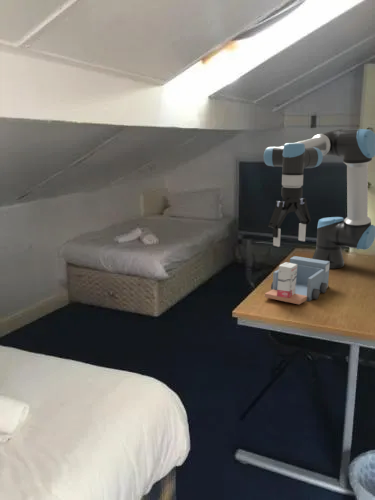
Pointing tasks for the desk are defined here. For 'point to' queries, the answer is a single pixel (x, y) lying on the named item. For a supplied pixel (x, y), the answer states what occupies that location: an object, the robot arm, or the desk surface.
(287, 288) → the ink box
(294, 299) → the tailgate
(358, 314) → the desk surface
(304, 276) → the pickup bed
